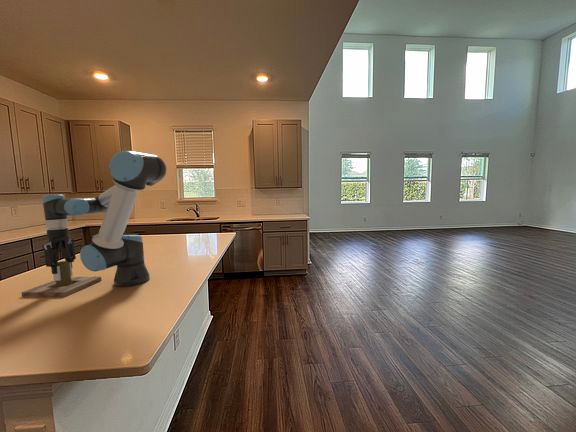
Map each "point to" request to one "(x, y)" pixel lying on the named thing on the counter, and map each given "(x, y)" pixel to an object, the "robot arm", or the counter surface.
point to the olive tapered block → (64, 275)
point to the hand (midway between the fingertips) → (63, 278)
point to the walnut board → (53, 291)
